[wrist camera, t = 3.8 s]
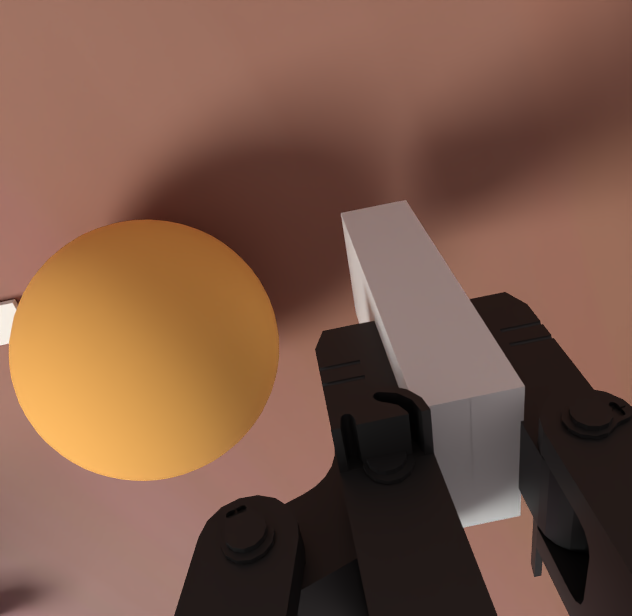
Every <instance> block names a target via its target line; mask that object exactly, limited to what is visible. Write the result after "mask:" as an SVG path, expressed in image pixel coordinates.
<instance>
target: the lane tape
mask: <svg viewBox="0 0 632 616" xmlns="http://www.w3.org/2000/svg"><path fill="white" fill-rule="evenodd" d="M17 307H18V304H17V302H16V300H15V299H13V300H8V301H4V302H0V345H4V344H9V339H10V334H11V328H12V323H13V318H14V315H15V312H16V310H17Z"/></svg>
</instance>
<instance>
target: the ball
mask: <svg viewBox="0 0 632 616" xmlns="http://www.w3.org/2000/svg"><path fill="white" fill-rule="evenodd" d="M278 360H279V334H278V329H277V324H276V319H275V314H274V311H273V308H272V305H271V302H270V299H269V297H268V295H267V293H266V291H265V290H264V288H263V286H262V284H261V282H260V280H259V279H258V277H257V276H256V275H255V273H254V272H253V271H252V269H251V268H250V267H249V266H248V265H247V264H246V263H245V262H244V261H243V259H242V258H241V257H240V256H239V255H238V254H237V253H235V252H234V251H233V250H232V249H230V248H229V247H228V246H227V245H225V244H224V243H223V242H221V241H219V240H218V239H216V238H214V237H213V236H211V235H209V234H207V233H205V232H202V231H200V230H198V229H195V228H192V227H189V226H186V225H183V224H179V223H174V222H169V221H162V220H150V219H148V220H130V221H124V222H118V223H114V224H111V225H107V226H104V227H100V228H97V229H95V230H92V231H90V232H88V233H86V234H83V235H81V236H79V237H78V238H76V239H75V240H73V241H71V242H70V243H68V244H67V245H65V246H64V247H63V248H61V249H60V250H59V251H58V252H56V253H55V254H54V255H53V256H52V257H50V258H49V259H48V260H47V261H46V263H45V264H44V265H43V266H42V267H41V268H40V269H39V271H38V272H37V273H36V274H35V276H34V277H33V278H32V280H31V281H30V283H29V285H28V286H27V288H26V289H25V291H24V293H23V295H22V297H21V300H20V302H19V304H18V307H17V310H16V312H15V315H14V318H13V323H12V328H11V334H10V339H9V365H10V372H11V379H12V383H13V386H14V389H15V392H16V395H17V398H18V401H19V403H20V405H21V407H22V409H23V411H24V413H25V415H26V417H27V418H28V420H29V421H30V423H31V424H32V426H33V427H34V428H35V430H36V431H37V433H38V434H39V435H40V436H41V437H42V438H43V439H44V440H45V441H46V442H47V443H48V444H49V445H50V446H51V447H52V448H54V449H55V450H56V451H57V452H59V453H60V454H61V455H62V456H64V457H65V458H67V459H68V460H70V461H71V462H73V463H75V464H77V465H79V466H80V467H82V468H84V469H87V470H89V471H92V472H94V473H97V474H101V475H104V476H108V477H112V478H118V479H124V480H136V481H148V480H160V479H166V478H172V477H175V476H179V475H183V474H186V473H188V472H191V471H193V470H196V469H198V468H201V467H203V466H205V465H207V464H209V463H211V462H213V461H214V460H216V459H217V458H219V457H220V456H222V455H223V454H224V453H226V452H227V451H228V450H229V449H231V448H232V447H233V446H234V445H235V444H237V443H238V442H239V441H240V440H241V439H242V438H243V437H244V435H245V434H246V433H247V432H248V431H249V430H250V428H251V427H252V426H253V425H254V423H255V422H256V420H257V419H258V417H259V416H260V414H261V413H262V411H263V408H264V406H265V404H266V402H267V400H268V398H269V396H270V394H271V391H272V388H273V384H274V381H275V377H276V373H277V367H278Z"/></svg>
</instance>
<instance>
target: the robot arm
mask: <svg viewBox="0 0 632 616" xmlns="http://www.w3.org/2000/svg"><path fill="white" fill-rule="evenodd" d="M341 218H342V225H343V231H344V238H345V244H346V251H347V257H348V264H349V271H350V277H351V284H352V290H353V297H354V304H355V310H356V314H357V317H358V321H359V324H355V325H350V326H345V327H340V328H335V329H330V330H326V331H323V332H322V334H321V337H320V339H319V342H318V344H317V346H316V349H315V351H316V356H317V361H318V366H319V371H320V376H321V381H322V386H323V391H324V396H325V400H326V405H327V410H328V415H329V420H330V425H331V432H332V437H333V442H334V446H335V457H334V460H333V464H332V467H331V468H330V470H329V472H328V473H327V475H326V477H325V478H324V479H323V480H322V481H321V482H320V483H319V484H318V485H317V486H316V487H314V488H313V489H311V490H309V491H308V492H306V493H305V494H303V495H301V496H299V497H297V498H296V499H294V500H292V501H290V502H288V503H286V504H284V503H282V502H281V501H279V500H277V499H276V498H272V497H265V496H259V495H256V496H251V497H245V498H239V499H237V500H235V501H233V502H231V503H229V504H227V505H225V506H223V507H221V508H220V509H219V510H218V511H217V512H216V513H215V514H214V515H213V516H212V517H211V518H210V519H209V520H208V521H207V523H206V524H205V526H204V528H203V530H202V532H201V534H200V536H199V538H198V541H197V544H196V547H195V551H194V554H193V557H192V560H191V563H190V567H189V570H188V573H187V576H186V579H185V583H184V586H183V589H182V592H181V595H180V599H179V602H178V605H177V608H176V611H175V615H174V616H497V613H496V611H495V608H494V606H493V603H492V600H491V598H490V595H489V593H488V590H487V588H486V585H485V582H484V580H483V577H482V575H481V572H480V570H479V567H478V565H477V562H476V559H475V557H474V554H473V552H472V549H471V547H470V544H469V541H468V539H467V536H466V534H465V531H464V529H463V528H464V527H468V526H473V525H478V524H483V523H488V522H492V521H497V520H502V519H507V518H512V517H516V516H520V509H521V494H522V496H523V498H524V500H525V502H526V504H527V506H528V508H529V509H530V511H531V513H532V515H533V535H532V553H531V565H532V569H533V574H534V577H536V576H541V572H542V560H543V562H544V564H545V566H546V568H547V570H548V573H549V575H550V577H551V579H552V581H553V583H554V585H555V587H556V589H557V591H558V593H559V595H560V597H561V599H562V601H563V603H564V605H565V607H566V609H567V611H568V613H569V616H632V407H631V406H630V405H629V404H628V403H627V402H626V401H624V400H623V399H621V398H618V397H616V396H614V395H612V394H609V393H607V392H604V391H598V390H594V389H593V388H592V387H591V385H590V384H589V383H588V381H587V380H586V379H585V378H584V376H583V375H582V374H581V372H580V371H579V370H578V369H577V367H576V366H575V365H574V364H573V362H572V361H571V360H570V358H569V357H568V356H567V355H566V353H565V352H564V351H563V349H562V348H561V347H560V346H559V344H558V343H557V342H556V341H555V339H554V338H553V339H552V338H551V334H550V333H549V332H548V330H547V329H546V328H545V326H544V325H543V324H542V325H541V323H540V320H539V319H538V318H537V316H536V315H535V314H534V312H533V311H532V310H531V309H530V307H529V306H528V305H527V304H526V303H524V302H522V301H520V300H519V299H517V298H515V297H513V296H511V295H510V294H508V293H506V292H503V293H498V294H493V295H488V296H483V297H478V298H473V299H469V298H468V296H467V295H466V293H465V292H464V290H463V289H462V287H461V285H460V284H459V282H458V281H457V279H456V278H455V276H454V274H453V273H452V271H451V270H450V268H449V267H448V265H447V263H446V262H445V260H444V259H443V257H442V256H441V254H440V253H439V251H438V249H437V248H436V246H435V245H434V243H433V242H432V240H431V238H430V237H429V235H428V234H427V232H426V231H425V229H424V227H423V226H422V224H421V223H420V221H419V220H418V218H417V217H416V215H415V213H414V212H413V210H412V209H411V207H410V206H409V204H408V202H407V201H406V200H403V201H398V202H393V203H388V204H383V205H378V206H373V207H368V208H363V209H358V210H353V211H348V212H343V213H341Z"/></svg>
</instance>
